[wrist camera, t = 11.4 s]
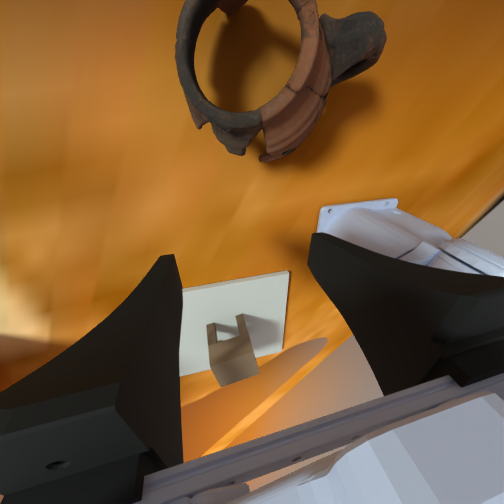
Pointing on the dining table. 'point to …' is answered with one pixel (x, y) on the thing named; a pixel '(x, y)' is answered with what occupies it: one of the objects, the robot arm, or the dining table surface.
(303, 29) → the pottery mug
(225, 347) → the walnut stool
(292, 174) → the dining table surface
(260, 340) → the grey mat
